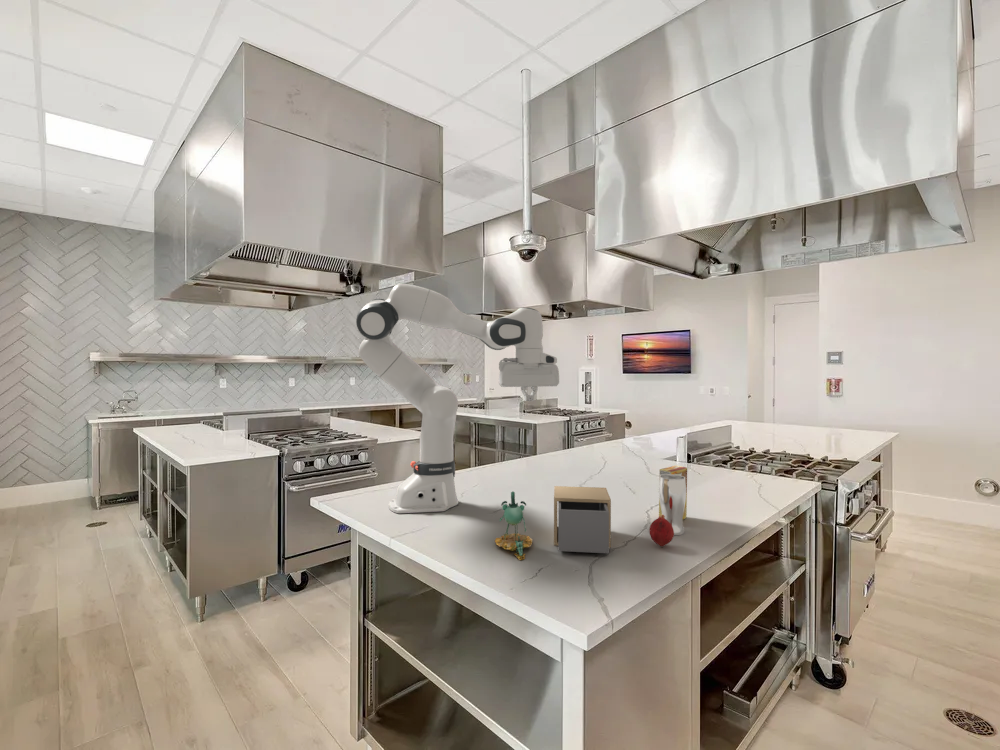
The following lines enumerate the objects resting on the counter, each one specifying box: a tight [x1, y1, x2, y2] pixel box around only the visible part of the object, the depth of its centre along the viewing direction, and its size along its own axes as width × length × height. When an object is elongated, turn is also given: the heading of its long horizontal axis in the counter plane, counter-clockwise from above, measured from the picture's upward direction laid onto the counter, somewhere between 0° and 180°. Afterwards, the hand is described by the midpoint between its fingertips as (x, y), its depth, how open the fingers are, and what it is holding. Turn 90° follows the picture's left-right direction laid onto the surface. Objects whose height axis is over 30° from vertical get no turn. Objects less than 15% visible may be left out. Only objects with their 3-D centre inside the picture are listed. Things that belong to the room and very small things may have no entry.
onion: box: [648, 514, 675, 547], centre depth 117 cm, size 6×6×8 cm
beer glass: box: [658, 474, 686, 536], centre depth 128 cm, size 7×7×15 cm
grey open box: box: [557, 501, 610, 554], centre depth 121 cm, size 20×12×10 cm, turn 173°
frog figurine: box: [494, 491, 533, 561], centre depth 118 cm, size 10×18×15 cm, turn 175°
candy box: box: [658, 465, 688, 520], centre depth 138 cm, size 9×4×15 cm, turn 129°
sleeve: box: [553, 485, 612, 549], centre depth 123 cm, size 12×14×12 cm
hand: (529, 400), depth 153 cm, fingers closed
